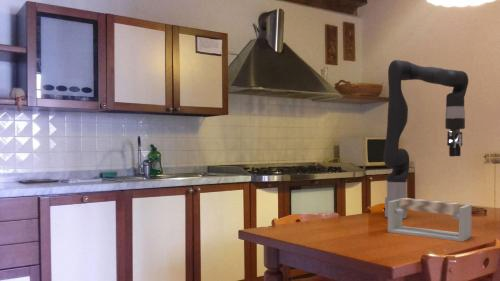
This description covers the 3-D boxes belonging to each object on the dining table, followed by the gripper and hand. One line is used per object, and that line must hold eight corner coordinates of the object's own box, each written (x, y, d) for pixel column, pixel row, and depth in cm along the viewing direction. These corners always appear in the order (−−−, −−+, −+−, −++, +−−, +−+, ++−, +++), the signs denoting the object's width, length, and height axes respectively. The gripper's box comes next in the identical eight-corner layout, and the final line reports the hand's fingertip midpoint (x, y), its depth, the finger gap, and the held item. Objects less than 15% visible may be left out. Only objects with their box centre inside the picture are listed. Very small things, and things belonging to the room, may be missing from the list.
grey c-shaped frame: (387, 232, 186) (387, 201, 186) (398, 228, 195) (398, 199, 196) (463, 241, 169) (463, 208, 169) (471, 236, 178) (471, 204, 179)
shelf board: (399, 208, 189) (399, 198, 189) (405, 207, 192) (405, 197, 192) (453, 215, 173) (453, 204, 173) (459, 213, 176) (459, 203, 176)
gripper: (450, 118, 206) (450, 155, 205) (440, 117, 194) (440, 156, 194) (468, 118, 201) (468, 156, 201) (460, 116, 190) (460, 156, 190)
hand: (454, 156), depth 197 cm, fingers open, 8 cm apart
